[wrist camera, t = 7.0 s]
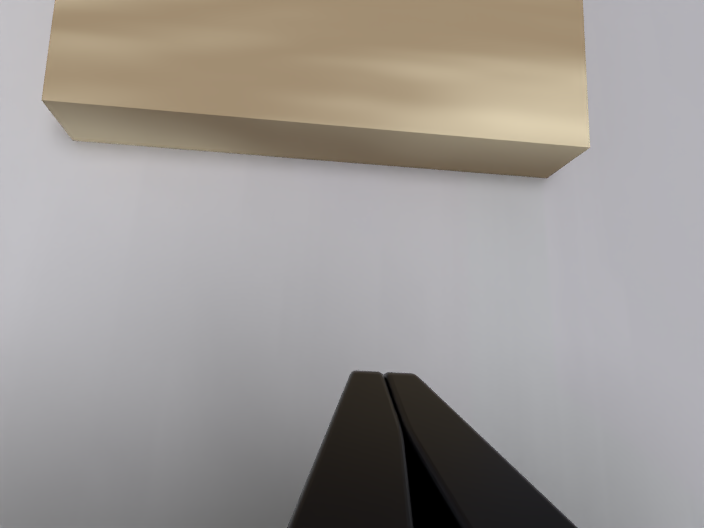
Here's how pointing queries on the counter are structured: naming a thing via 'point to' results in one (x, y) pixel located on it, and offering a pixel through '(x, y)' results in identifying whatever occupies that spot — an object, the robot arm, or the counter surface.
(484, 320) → the counter surface
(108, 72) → the oak plank
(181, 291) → the counter surface
